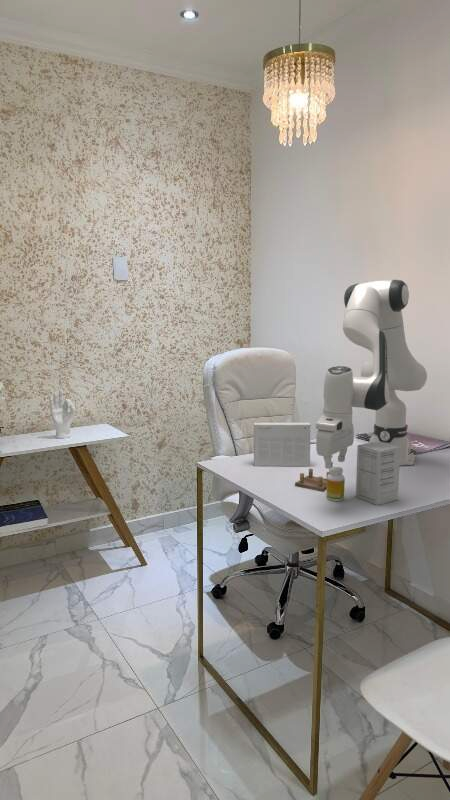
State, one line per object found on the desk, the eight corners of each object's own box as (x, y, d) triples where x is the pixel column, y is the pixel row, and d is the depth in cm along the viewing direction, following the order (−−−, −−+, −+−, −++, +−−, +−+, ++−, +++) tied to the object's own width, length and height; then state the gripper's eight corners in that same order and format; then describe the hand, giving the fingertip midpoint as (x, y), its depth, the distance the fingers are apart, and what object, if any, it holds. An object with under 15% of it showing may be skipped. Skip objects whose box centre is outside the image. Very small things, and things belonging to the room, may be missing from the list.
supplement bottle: (344, 502, 169) (345, 471, 168) (326, 500, 170) (327, 470, 169) (343, 496, 175) (345, 466, 173) (326, 495, 176) (327, 465, 174)
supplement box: (398, 500, 171) (401, 446, 168) (378, 505, 166) (380, 451, 163) (375, 491, 179) (377, 440, 176) (354, 496, 174) (356, 444, 171)
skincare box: (308, 462, 212) (309, 422, 210) (310, 466, 207) (311, 425, 204) (253, 462, 213) (253, 421, 210) (253, 466, 207) (254, 424, 205)
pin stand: (308, 478, 193) (308, 467, 192) (335, 483, 187) (335, 471, 187) (294, 485, 185) (295, 474, 184) (322, 491, 179) (323, 479, 178)
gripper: (341, 414, 179) (339, 456, 181) (313, 424, 162) (311, 470, 164) (359, 416, 175) (357, 459, 177) (333, 427, 158) (331, 473, 160)
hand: (335, 464), depth 170 cm, fingers open, 8 cm apart
